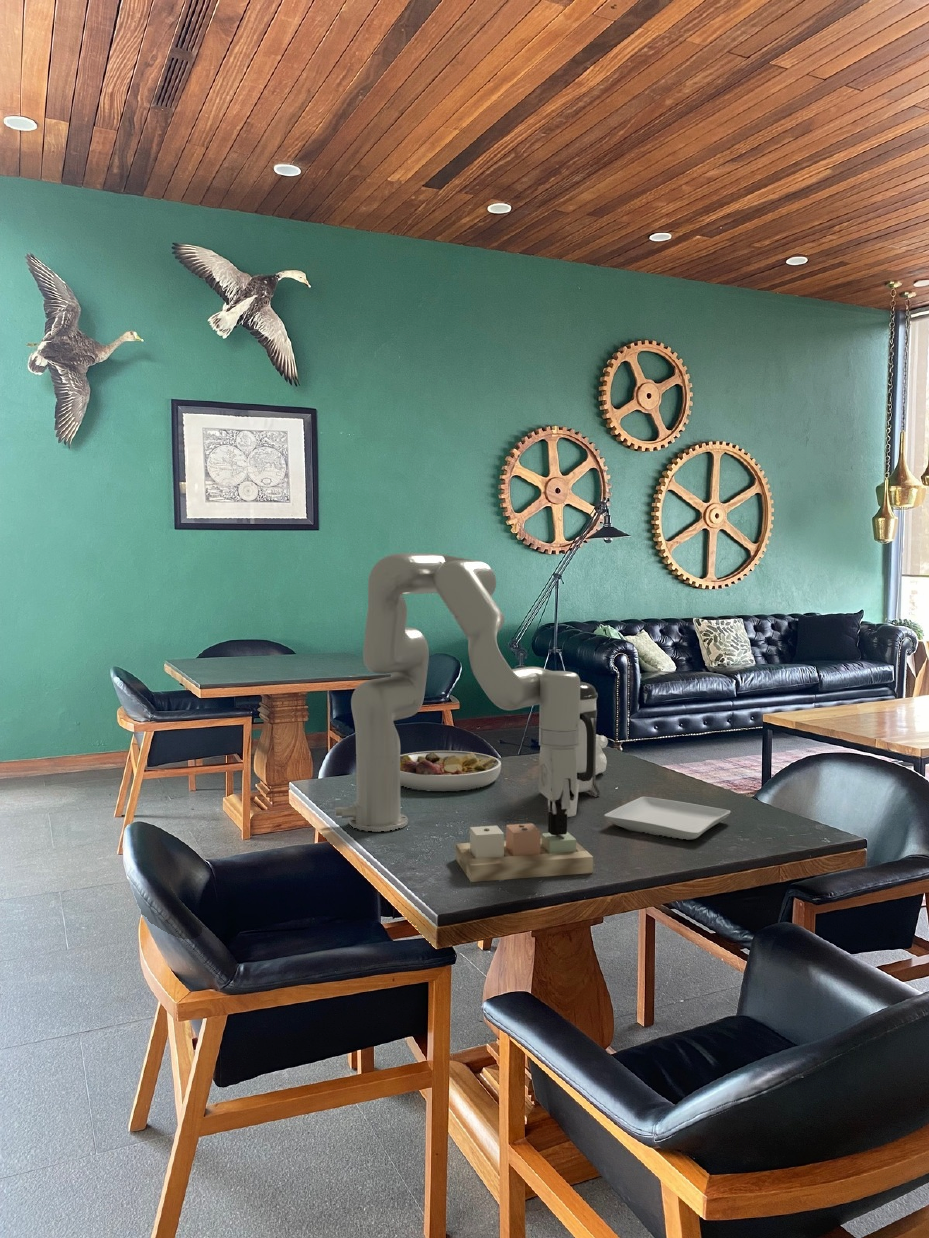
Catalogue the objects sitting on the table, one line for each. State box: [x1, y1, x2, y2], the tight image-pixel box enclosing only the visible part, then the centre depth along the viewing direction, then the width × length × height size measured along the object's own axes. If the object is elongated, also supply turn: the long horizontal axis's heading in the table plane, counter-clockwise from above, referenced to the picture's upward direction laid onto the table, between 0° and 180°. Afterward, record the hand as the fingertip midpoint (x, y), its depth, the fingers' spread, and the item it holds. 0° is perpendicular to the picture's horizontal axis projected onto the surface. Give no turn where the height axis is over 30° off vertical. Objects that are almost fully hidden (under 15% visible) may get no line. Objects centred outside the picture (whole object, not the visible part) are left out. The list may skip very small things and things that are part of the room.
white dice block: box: [469, 825, 505, 859], centre depth 173 cm, size 5×5×5 cm
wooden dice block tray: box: [455, 839, 594, 883], centre depth 175 cm, size 23×13×3 cm, turn 102°
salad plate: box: [603, 796, 731, 841], centre depth 201 cm, size 21×21×3 cm
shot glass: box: [567, 783, 579, 818], centre depth 211 cm, size 7×7×7 cm
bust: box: [595, 734, 609, 776], centre depth 252 cm, size 12×8×11 cm
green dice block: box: [541, 831, 577, 854], centre depth 176 cm, size 5×5×5 cm
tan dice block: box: [505, 823, 542, 856], centre depth 175 cm, size 5×5×5 cm
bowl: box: [400, 750, 502, 792], centre depth 243 cm, size 30×30×8 cm
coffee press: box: [572, 671, 601, 798], centre depth 227 cm, size 17×16×30 cm
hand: (557, 833), depth 176 cm, fingers closed
